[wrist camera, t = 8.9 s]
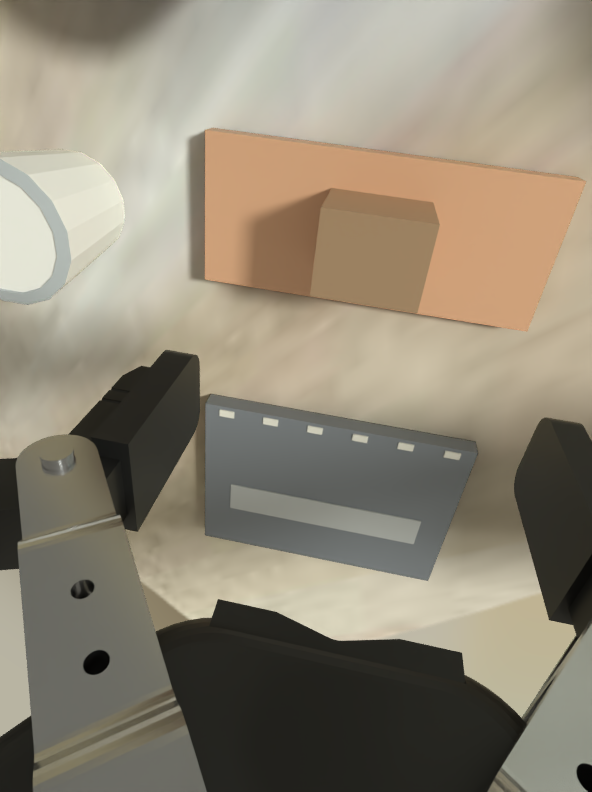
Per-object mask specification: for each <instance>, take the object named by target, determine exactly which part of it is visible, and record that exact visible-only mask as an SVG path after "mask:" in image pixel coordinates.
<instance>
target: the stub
mask: <svg viewBox="0 0 592 792" xmlns="http://www.w3.org/2000/svg"><path fill="white" fill-rule="evenodd" d="M585 184H586V181H584V180H582V179H580V178H579V177H572V176H565V175H558V174H550V173H543V172H535V171H528V170H521V169H513V168H506V167H499V166H491V165H484V164H476V163H469V162H462V161H454V160H447V159H439V158H432V157H425V156H417V155H410V154H403V153H395V152H388V151H380V150H373V149H366V148H358V147H351V146H344V145H336V144H329V143H321V142H314V141H307V140H299V139H292V138H285V137H277V136H270V135H262V134H255V133H248V132H240V131H233V130H225V129H218V128H210V129H207V130H205V280H211V281H217V282H224V283H230V284H236V285H242V286H248V287H255V288H261V289H267V290H273V291H279V292H285V293H292V294H298V295H304V296H310V297H316V298H323V299H329V300H335V301H341V302H347V303H354V304H360V305H366V306H372V307H378V308H384V309H391V310H397V311H403V312H409V313H415V314H422V315H428V316H434V317H440V318H446V319H453V320H459V321H465V322H471V323H477V324H484V325H490V326H496V327H502V328H508V329H514V330H521V331H528V328H529V326H530V323H531V321H532V318H533V315H534V313H535V310H536V308H537V305H538V303H539V300H540V298H541V295H542V293H543V290H544V288H545V285H546V282H547V280H548V277H549V275H550V272H551V270H552V267H553V265H554V262H555V260H556V257H557V255H558V252H559V249H560V247H561V244H562V242H563V239H564V237H565V234H566V232H567V229H568V227H569V224H570V222H571V219H572V217H573V214H574V211H575V209H576V206H577V204H578V201H579V199H580V196H581V194H582V191H583V189H584V186H585Z"/></svg>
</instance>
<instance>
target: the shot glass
mask: <svg viewBox="0 0 592 792" xmlns="http://www.w3.org/2000/svg"><path fill="white" fill-rule="evenodd" d="M124 222H125V213H124V200H123V198H122V196H121V193H120V191H119V189H118V187H117V184H116V182H115V180H114V179H113V178H112V176H111V175H110V174H109V173H108V172H107V171H106V170H105V168H104V167H103V166H102V165H101V164H100V163H99V162H97V161H96V160H94V159H92V158H91V157H89V156H87V155H85V154H84V153H82V152H77V151H70V150H64V149H58V150H34V151H9V152H0V299H1V300H3V301H9V302H14V303H20V304H26V305H29V304H33V303H37V302H41V301H45V300H49V299H51V298H52V297H53V296H54V295H55V294H56V293H57V292H59V291H60V290H61V289H62V288H63V287H64V286H65V285H67V284H68V283H69V282H70V281H71V280H72V279H73V278H75V277H76V276H77V275H78V274H79V273H80V272H81V271H83V270H84V269H85V268H86V267H87V266H88V265H89V264H91V263H92V262H93V261H94V260H95V259H96V258H97V257H99V256H100V255H101V254H102V253H103V252H104V251H105V250H107V249H108V248H109V247H110V246H111V245H112V244H113V243H114V242H115V241H116V240H117V239H118V238H119V237H120V234H121V231H122V228H123V225H124Z"/></svg>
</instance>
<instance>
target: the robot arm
mask: <svg viewBox="0 0 592 792" xmlns="http://www.w3.org/2000/svg"><path fill="white" fill-rule="evenodd" d="M199 413H200V365H199V358H198V356H197V355H193V354H188V353H182V352H176V351H170V350H165V351H164V352H163V353H162V354H161V355H160V357H159V358H158V359H157V360H156V361H155V362H154V364H153V365H152V366H151V367H144V366H140V367H138V368H136V369H134V370H132V371H130V372H129V373H127V374H125V375H123V376H122V377H121V378H120V379H119V380H118V381H117V382H116V383H115V385H114V386H113V387H112V389H111V390H109V391H108V392H107V393H106V394H105V395H104V396H103V398H102V401H99V402H98V403H97V404H96V405H95V406H94V407H93V408H92V409H91V411H90V412H89V413H88V414H87V415H86V416H85V417H84V418H83V419H82V420H81V421H80V423H79V424H78V425H77V426H76V427H75V428H74V429H73V430H72V431H71V432H70V433H69V434H68V435H56V436H51V437H47V438H44V439H41V440H39V441H37V442H35V443H33V444H31V445H30V446H28V447H27V448H26V449H24V450H23V451H22V452H21V453H20V455H19V456H18V458H13V459H0V570H8V569H19V570H20V571H19V572H20V584H21V597H22V609H23V620H24V633H25V645H26V657H27V668H28V682H29V693H30V706H31V716H30V717H28V718H27V719H25V720H24V721H23V722H21V723H20V724H18V725H17V726H15V727H14V728H13V729H11V730H10V731H8V732H7V733H6V734H4V735H3V736H1V737H0V792H592V441H591V440H590V438H589V436H588V434H587V432H586V430H585V428H584V427H583V425H582V424H580V423H575V422H569V421H563V420H557V419H552V418H543V419H542V420H541V421H540V422H539V424H538V426H537V428H536V430H535V432H534V434H533V436H532V439H531V441H530V443H529V445H528V447H527V450H526V452H525V454H524V456H523V458H522V461H521V463H520V465H519V467H518V470H517V473H516V477H515V483H514V492H515V498H516V501H517V505H518V509H519V512H520V516H521V519H522V523H523V527H524V530H525V534H526V538H527V541H528V545H529V548H530V552H531V556H532V559H533V563H534V567H535V570H536V574H537V577H538V581H539V585H540V588H541V592H542V595H543V599H544V603H545V606H546V610H547V614H548V617H549V620H551V621H556V622H561V623H566V624H570V625H574V629H575V631H576V636H575V637H574V639H573V640H572V642H571V643H570V644H569V646H568V647H567V649H566V651H565V652H564V654H563V655H562V657H561V658H560V660H559V661H558V663H557V664H556V666H555V667H554V669H553V671H552V672H551V674H550V675H549V677H548V678H547V680H546V681H545V683H544V684H543V686H542V688H541V689H540V691H539V692H538V694H537V695H536V697H535V698H534V700H533V701H532V703H531V704H530V706H529V708H528V709H527V711H526V712H525V714H524V715H523V716H522V718H521V717H520V716H519V715H518V714H517V713H516V712H515V711H514V710H513V709H512V708H511V707H510V706H509V705H508V704H507V703H505V702H504V701H503V700H502V699H501V698H500V697H498V696H497V695H496V694H494V693H493V692H492V691H490V690H489V689H488V688H486V687H485V686H483V685H481V684H480V683H478V682H477V681H475V680H473V679H472V678H470V677H467V676H466V675H464V667H463V659H462V653H460V652H456V651H451V650H447V649H442V648H437V647H433V646H429V645H424V644H419V643H415V642H410V641H406V640H401V639H392V640H358V641H337V640H333V639H330V638H328V637H326V636H324V635H322V634H320V633H318V632H316V631H314V630H312V629H310V628H308V627H306V626H304V625H302V624H300V623H298V622H296V621H294V620H291V619H289V618H287V617H285V616H283V615H281V614H279V613H277V612H274V611H269V610H265V609H260V608H256V607H251V606H247V605H242V604H238V603H233V602H228V601H224V600H219V599H218V601H217V604H216V607H215V610H214V613H213V616H212V618H200V619H194V620H187V621H184V622H180V623H176V624H173V625H170V626H168V627H166V628H163V629H160V630H159V631H156V632H155V629H154V625H153V622H152V619H151V616H150V612H149V609H148V605H147V602H146V599H145V595H144V592H143V589H142V585H141V582H140V578H139V575H138V572H137V568H136V565H135V562H134V558H133V555H132V552H131V548H130V545H129V542H128V538H127V535H126V532H125V529H127V530H132V531H137V532H138V530H139V528H140V527H141V525H142V523H143V521H144V520H145V518H146V516H147V514H148V513H149V511H150V509H151V507H152V506H153V504H154V502H155V500H156V499H157V497H158V495H159V494H160V492H161V490H162V488H163V487H164V485H165V483H166V481H167V480H168V478H169V476H170V474H171V473H172V471H173V469H174V467H175V466H176V464H177V462H178V460H179V459H180V457H181V455H182V453H183V452H184V450H185V448H186V446H187V445H188V443H189V441H190V440H191V438H192V436H193V434H194V432H195V430H196V427H197V424H198V419H199Z"/></svg>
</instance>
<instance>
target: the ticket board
mask: <svg viewBox="0 0 592 792" xmlns="http://www.w3.org/2000/svg"><path fill="white" fill-rule="evenodd" d="M477 455H478V451H477V446H476V442H474V441H468V440H463V439H457V438H452V437H446V436H440V435H435V434H429V433H424V432H418V431H413V430H407V429H402V428H396V427H391V426H385V425H380V424H374V423H369V422H363V421H358V420H352V419H347V418H341V417H335V416H330V415H324V414H319V413H313V412H308V411H302V410H297V409H291V408H286V407H280V406H275V405H269V404H264V403H258V402H253V401H247V400H241V399H236V398H230V397H225V396H219V395H214V394H211V395H210V397H209V398H208V400H207V402H206V414H205V535H206V536H211V537H216V538H221V539H226V540H231V541H236V542H241V543H245V544H250V545H255V546H260V547H265V548H270V549H275V550H280V551H284V552H289V553H294V554H299V555H304V556H309V557H314V558H319V559H323V560H328V561H333V562H338V563H343V564H348V565H353V566H358V567H362V568H367V569H372V570H377V571H382V572H387V573H392V574H397V575H401V576H406V577H411V578H416V579H421V580H426V581H428V579H429V577H430V574H431V572H432V569H433V567H434V564H435V562H436V559H437V557H438V554H439V551H440V549H441V546H442V544H443V541H444V539H445V536H446V534H447V531H448V528H449V526H450V523H451V521H452V518H453V516H454V513H455V511H456V508H457V506H458V503H459V500H460V498H461V495H462V493H463V490H464V488H465V485H466V483H467V480H468V477H469V475H470V472H471V470H472V467H473V465H474V462H475V460H476V457H477Z"/></svg>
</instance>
